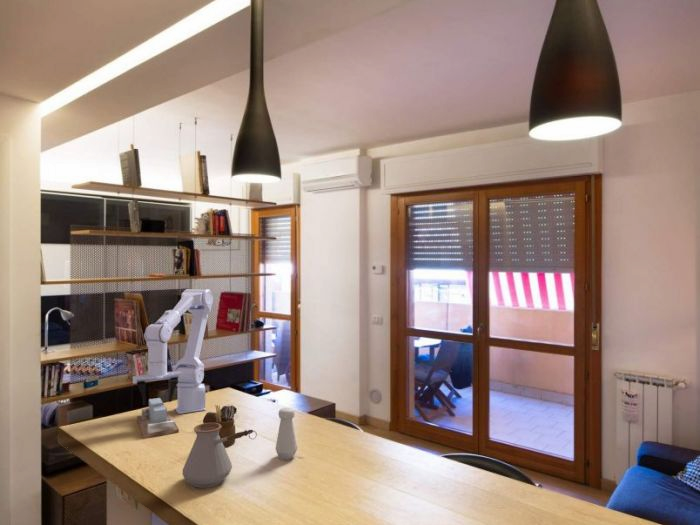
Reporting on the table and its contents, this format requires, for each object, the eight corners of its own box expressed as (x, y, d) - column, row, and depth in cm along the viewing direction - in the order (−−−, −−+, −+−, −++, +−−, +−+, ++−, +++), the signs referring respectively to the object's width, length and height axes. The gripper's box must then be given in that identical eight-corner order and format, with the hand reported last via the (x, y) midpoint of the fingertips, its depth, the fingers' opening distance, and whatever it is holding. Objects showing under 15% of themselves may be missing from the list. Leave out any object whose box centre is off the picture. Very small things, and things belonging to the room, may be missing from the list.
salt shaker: (293, 462, 121) (293, 412, 121) (272, 460, 122) (272, 411, 122) (299, 453, 127) (299, 406, 127) (280, 452, 128) (280, 405, 128)
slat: (159, 415, 157) (159, 397, 157) (166, 428, 144) (166, 409, 144) (148, 417, 155) (148, 399, 155) (154, 430, 142) (154, 411, 142)
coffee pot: (171, 483, 109) (172, 420, 109) (210, 466, 119) (211, 408, 119) (234, 509, 97) (234, 438, 98) (271, 487, 107) (271, 423, 107)
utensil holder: (239, 441, 135) (239, 401, 136) (224, 449, 130) (225, 406, 130) (224, 438, 138) (224, 398, 138) (209, 445, 133) (209, 403, 133)
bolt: (234, 420, 161) (211, 433, 146) (223, 412, 162) (199, 424, 147) (242, 406, 160) (220, 418, 146) (231, 398, 161) (208, 409, 147)
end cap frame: (168, 414, 161) (168, 404, 161) (178, 432, 143) (178, 421, 143) (137, 419, 156) (137, 409, 156) (143, 438, 138) (143, 426, 138)
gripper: (134, 365, 143) (134, 409, 142) (183, 360, 150) (182, 402, 150) (132, 361, 149) (132, 403, 149) (179, 357, 156) (179, 397, 156)
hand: (157, 402), depth 150 cm, fingers open, 7 cm apart
